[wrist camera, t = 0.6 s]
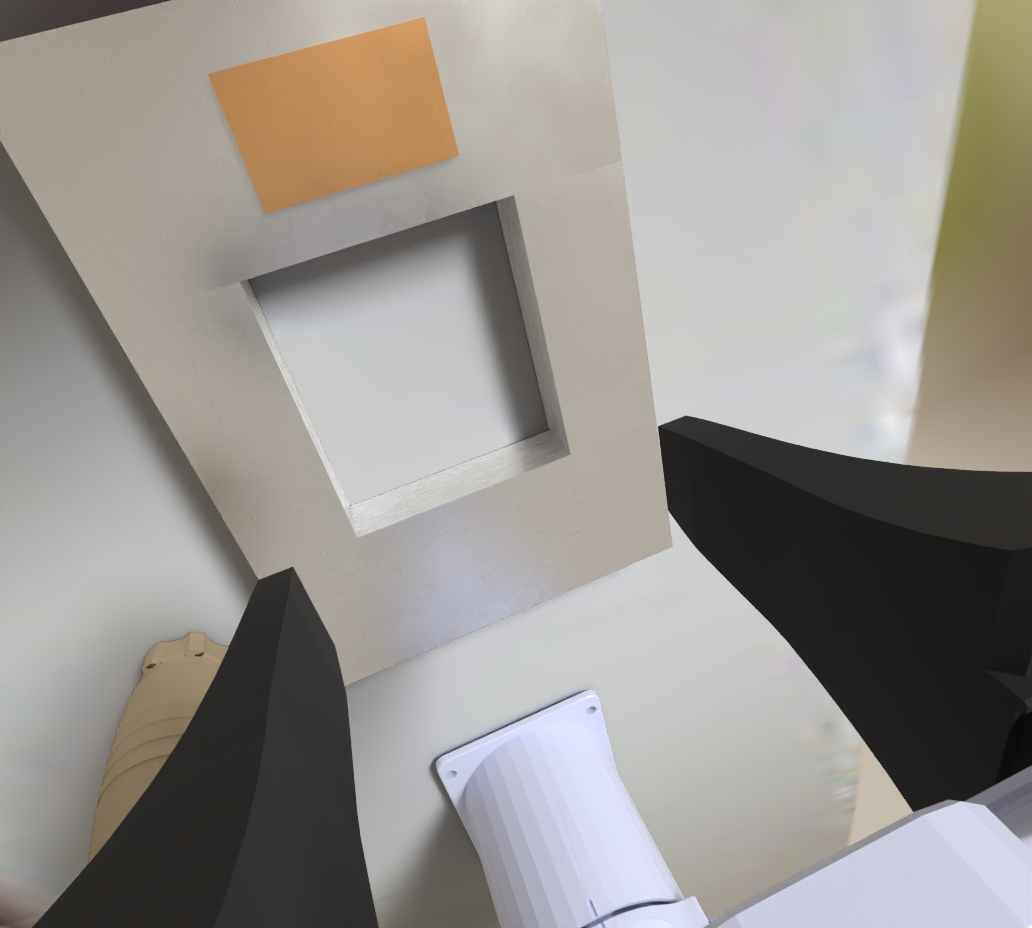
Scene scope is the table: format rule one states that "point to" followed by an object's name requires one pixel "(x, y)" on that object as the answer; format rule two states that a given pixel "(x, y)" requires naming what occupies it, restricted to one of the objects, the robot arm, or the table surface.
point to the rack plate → (341, 224)
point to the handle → (153, 724)
